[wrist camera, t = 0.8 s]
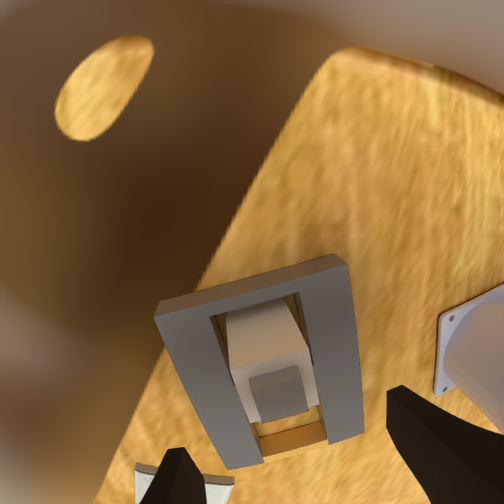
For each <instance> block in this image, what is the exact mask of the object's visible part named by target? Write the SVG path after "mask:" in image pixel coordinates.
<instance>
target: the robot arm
mask: <svg viewBox="0 0 504 504" xmlns="http://www.w3.org/2000/svg"><path fill="white" fill-rule="evenodd" d="M450 317H451V318H450ZM449 318H450V319H449ZM455 387H458V388H459V389H460V390H461V391H462V392H463V393H464V394H465V395H466V396H467V397H468V398H469V399H470V400H471V401H472V402H473V403H474V404H475V405H476V406H477V407H478V408H479V409H480V410H481V411H482V413H483V414H484V415H485V416H486V417H487V418H488V419H489V420H490V421H491V422H492V423H493V424H494V425H495V426H496V427H497V428H498V430H499V431H500V432H501V433H502V434H503V435H502V434H499V433H495V432H492V431H489V430H486V429H483V428H481V427H478V426H476V425H473V424H471V423H469V422H466V421H464V420H462V419H460V418H458V417H456V416H454V415H452V414H450V413H448V412H447V411H445V410H443V409H441V408H439V407H437V406H436V405H434V404H432V403H431V402H429V401H427V400H426V399H424V398H422V397H421V396H419V395H418V394H416V393H415V392H413V391H411V390H410V389H408V388H407V387H405V386H403V385H400V386H398V387H395V388H393V389H391V390H388V391H387V417H386V428H387V430H388V432H389V434H390V436H391V439H392V441H393V443H394V445H395V447H396V449H397V450H398V452H399V453H400V455H401V456H402V458H403V459H404V461H405V462H406V464H407V465H408V467H409V468H410V470H411V471H412V473H413V474H414V476H415V477H416V479H417V480H418V482H419V483H420V485H421V486H422V488H423V489H424V491H425V493H426V495H427V496H428V498H429V500H430V502H431V504H504V283H503V284H502V285H500V286H498V287H496V288H494V289H492V290H490V291H488V292H486V293H484V294H482V295H480V296H478V297H476V298H474V299H472V300H470V301H468V302H466V303H464V304H462V305H460V306H458V307H456V308H454V309H452V310H449V311H447V312H445V313H443V314H442V315H441V316H440V318H439V328H438V348H437V363H436V374H435V384H434V394H435V395H436V396H440V395H442V394H444V393H446V392H448V391H449V390H451V389H453V388H455ZM139 504H207V497H206V488H205V480H204V477H203V475H202V474H201V472H200V471H199V469H198V468H197V466H196V465H195V463H194V462H193V460H192V459H191V457H190V455H189V454H188V452H187V451H186V449H185V447H180V448H173V449H168V450H167V451H166V453H165V455H164V457H163V460H162V462H161V464H160V466H159V468H158V470H157V472H156V474H155V476H154V478H153V480H152V482H151V483H150V485H149V487H148V489H147V491H146V493H145V494H144V496H143V498H142V500H141V501H140V503H139Z"/></svg>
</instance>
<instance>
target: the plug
mask: <svg viewBox="0 0 504 504" xmlns="http://www.w3.org/2000/svg"><path fill="white" fill-rule="evenodd" d="M226 326H227V340H228V353H229V366H230V372H231V375H232V378H233V380H234V383H235V386H236V388H237V391H238V394H239V396H240V399H241V401H242V404H243V407H244V409H245V412H246V414H247V417H248V419H249V422H250V423H254V422H258V421H262V424H263V423H267V422H271V421H275V420H278V419H282V418H286V417H289V416H293V415H296V414H300V413H303V412H307V411H309V407H312V406H316V405H319V399H318V394H317V388H316V383H315V378H314V373H313V368H312V363H311V358H310V353H309V348H308V346H307V344H306V342H305V340H304V338H303V336H302V334H301V332H300V330H299V328H298V326H297V324H296V322H295V320H294V318H293V316H292V314H291V312H290V310H289V308H288V306H287V304H286V302H285V300H284V298H283V297H279V298H276V299H272V300H269V301H265V302H262V303H258V304H254V305H251V306H247V307H243V308H240V309H236V310H232V311H228V312H226Z"/></svg>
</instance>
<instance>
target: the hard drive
mask: <svg viewBox="0 0 504 504" xmlns="http://www.w3.org/2000/svg"><path fill="white" fill-rule="evenodd" d="M158 468H159V467H154V466H149V465H144V464H140V463H136V464H135V471H134V478H135V504H139V503H140V501H141V500H142V498H143V496H144V494H145V493H146V491H147V489H148V487H149V485H150V483H151V482H152V480H153V478H154V476H155V474H156V472H157V470H158ZM202 475H203V477H204V480H205V488H206V497H207V504H227V501H228V499H229V497H230V494H231V492H232V489H233V487H234V485H235V481H234V477H225V476H215V475H206V474H202Z"/></svg>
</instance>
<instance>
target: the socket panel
mask: <svg viewBox="0 0 504 504" xmlns="http://www.w3.org/2000/svg"><path fill="white" fill-rule="evenodd" d="M293 293H294V296H295V300H296V305H297V310H298V314H299V319H300V323H301V328H302V333H303V338H304V340H305V342H306V344H307V346H308V348H309V353H310V358H311V363H312V368H313V373H314V378H315V383H316V388H317V394H318V399H319V405H317V407H318V412H319V417H320V421H319V422H315V423H312V424H309V425H306V426H302V427H299V428H295V429H292V430H288V431H284V432H281V433H277V434H273V435H269V436H265V437H261V438H259V436H258V434H257V431H256V429H255V426H254V424H253V423H250V422H249V419H248V417H247V414H246V412H245V409H244V407H243V404H242V401H241V399H240V396H239V394H238V391H237V388H236V386H235V383H234V380H233V378H232V375H231V372H230V366H229V356H228V353H227V351H226V348H225V345H224V342H223V339H222V336H221V333H220V330H219V327H218V324H217V321H216V318H215V315H217V314H221V313H224V312H228V311H232V310H236V309H240V308H243V307H247V306H251V305H254V304H258V303H262V302H265V301H269V300H272V299H276V298H279V297H283V296H287V295H290V294H293ZM154 319H155V322H156V324H157V327H158V329H159V332H160V334H161V337H162V339H163V341H164V344H165V346H166V348H167V351H168V353H169V355H170V358H171V360H172V362H173V364H174V367H175V369H176V371H177V373H178V375H179V377H180V380H181V382H182V384H183V386H184V388H185V390H186V392H187V394H188V397H189V399H190V401H191V403H192V405H193V407H194V409H195V411H196V413H197V415H198V417H199V419H200V421H201V423H202V424H203V426H204V428H205V430H206V432H207V434H208V436H209V438H210V440H211V442H212V443H213V445H214V447H215V449H216V451H217V453H218V454H219V456H220V458H221V460H222V461H223V463H224V465H225V467H226V468H227V470H232V469H237V468H242V467H247V466H252V465H257V464H261V463H266V462H270V461H274V460H278V459H282V458H286V457H290V456H294V455H297V454H301V453H304V452H308V451H311V450H314V449H318V448H321V447H324V446H327V445H330V444H333V443H336V442H339V441H342V440H345V439H348V438H351V437H353V436H356V435H359V434H361V433H364V412H363V396H362V382H361V370H360V359H359V349H358V340H357V331H356V322H355V314H354V306H353V299H352V291H351V284H350V278H349V271H348V265H347V263H345V262H344V261H343V260H342V259H340V258H339V257H338V256H336V255H335V254H331V255H328V256H324V257H321V258H317V259H314V260H310V261H307V262H303V263H300V264H296V265H293V266H289V267H286V268H282V269H278V270H275V271H271V272H268V273H264V274H260V275H257V276H253V277H249V278H246V279H242V280H238V281H235V282H231V283H227V284H224V285H220V286H216V287H212V288H209V289H205V290H201V291H197V292H193V293H190V294H186V295H182V296H178V297H175V298H170V299H167V300H163V301H160V302H159V304H158V307H157V309H156V312H155V314H154Z"/></svg>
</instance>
